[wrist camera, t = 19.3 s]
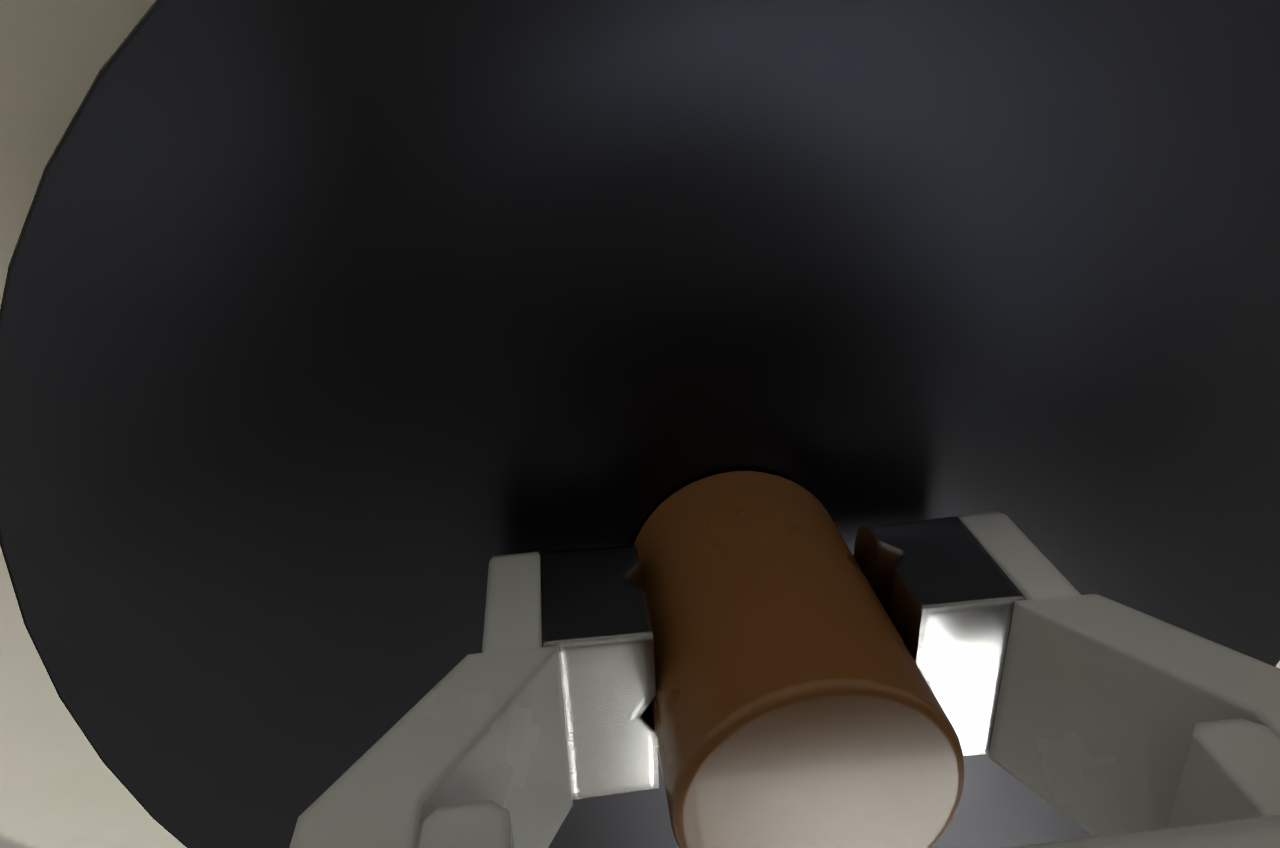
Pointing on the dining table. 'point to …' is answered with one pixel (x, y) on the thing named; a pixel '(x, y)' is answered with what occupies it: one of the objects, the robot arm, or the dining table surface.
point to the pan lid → (632, 374)
